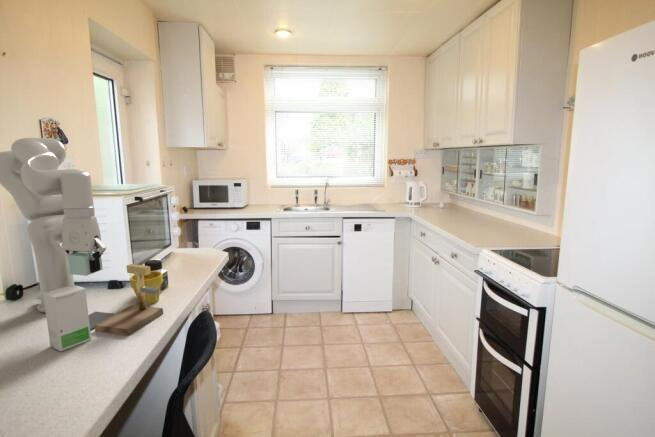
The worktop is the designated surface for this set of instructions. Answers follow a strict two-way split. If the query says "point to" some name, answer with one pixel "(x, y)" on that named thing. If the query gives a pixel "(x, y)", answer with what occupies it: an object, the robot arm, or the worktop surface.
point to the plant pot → (149, 285)
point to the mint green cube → (80, 263)
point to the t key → (141, 283)
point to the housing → (128, 320)
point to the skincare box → (67, 317)
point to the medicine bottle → (157, 266)
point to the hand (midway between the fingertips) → (86, 269)
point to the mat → (97, 318)
